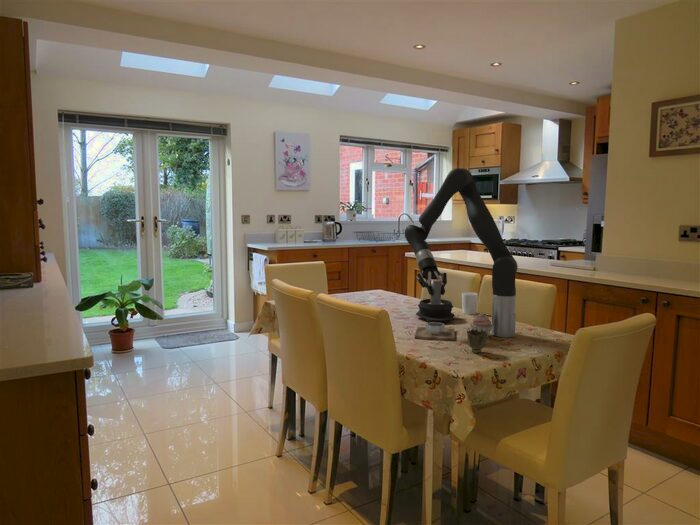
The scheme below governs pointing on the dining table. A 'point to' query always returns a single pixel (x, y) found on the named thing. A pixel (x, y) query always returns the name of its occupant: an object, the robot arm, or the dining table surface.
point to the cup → (477, 340)
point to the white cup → (469, 303)
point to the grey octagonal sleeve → (435, 328)
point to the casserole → (435, 310)
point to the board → (446, 336)
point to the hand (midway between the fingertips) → (437, 294)
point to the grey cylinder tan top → (436, 291)
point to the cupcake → (482, 323)
